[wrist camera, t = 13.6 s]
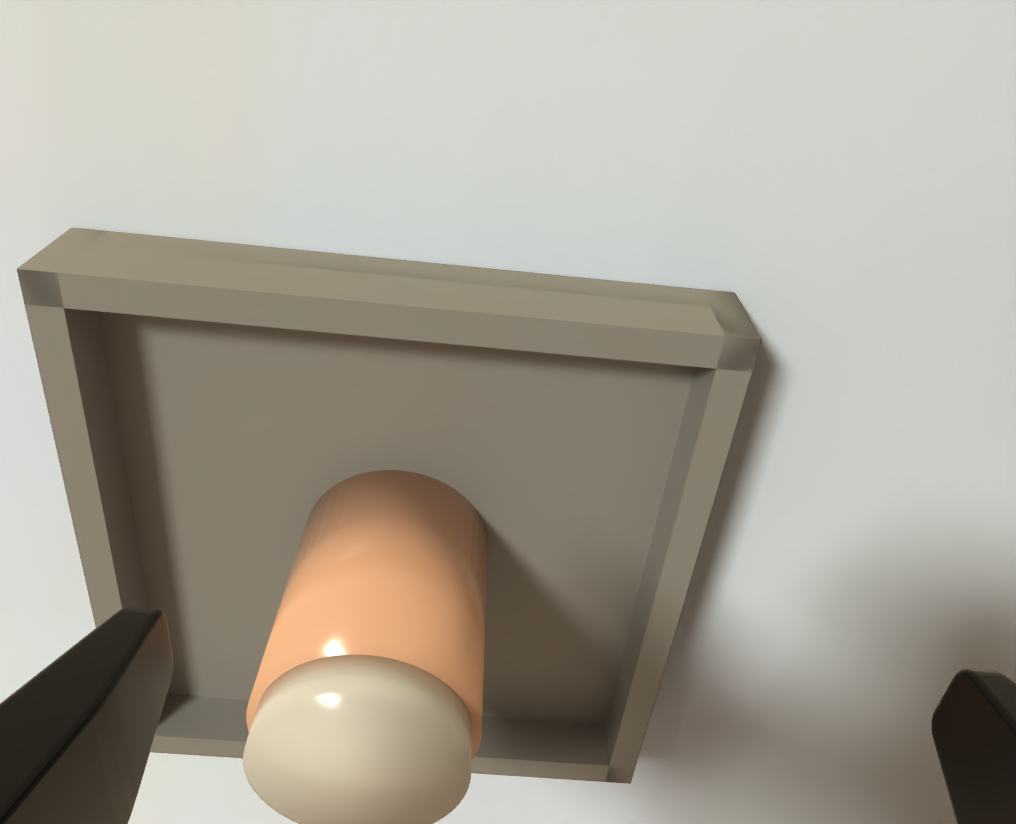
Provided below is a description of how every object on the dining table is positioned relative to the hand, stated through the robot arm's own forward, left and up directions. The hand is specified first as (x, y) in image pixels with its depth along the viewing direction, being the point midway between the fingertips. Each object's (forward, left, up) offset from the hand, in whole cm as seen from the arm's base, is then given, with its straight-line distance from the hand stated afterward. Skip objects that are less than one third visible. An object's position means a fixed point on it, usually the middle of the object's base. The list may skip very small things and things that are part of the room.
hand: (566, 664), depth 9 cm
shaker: (+3, +8, -11) cm, 14 cm away
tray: (+3, +8, -12) cm, 15 cm away
